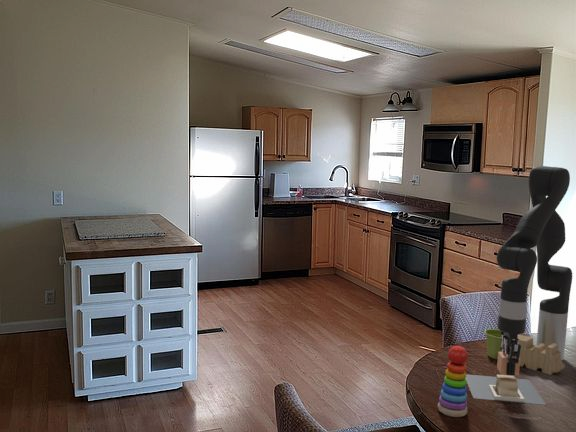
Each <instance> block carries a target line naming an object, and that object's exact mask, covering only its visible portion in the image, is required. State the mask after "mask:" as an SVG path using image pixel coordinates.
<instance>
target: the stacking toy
mask: <svg viewBox="0 0 576 432" xmlns="http://www.w3.org/2000/svg"><path fill="white" fill-rule="evenodd" d="M447 355H448V359H449V362H448V363H447V364H446V368H447V369H445V373H444V374H445V376H444V378H443V381H444V382H443V384H442V388H441V390H440V395H439V398H438V403H437V409H438V411H439V412H440V413H441V414H444V415H445V416H448V417H452V418H462V417H464V416H466V415H467V414H468V401H467V399H468V393H467V385H468V384H467V381H466V379H465V378H466V374H467V373H466V371H467V365H466V364H465V363H466V362H467V360H468V352H467V350H466V349H465V347H463V346H461V345H453V346H452V347H451V348H450V349H449V350H448V352H447Z"/></svg>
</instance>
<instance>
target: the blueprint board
mask: <svg viewBox="0 0 576 432" xmlns="http://www.w3.org/2000/svg"><path fill="white" fill-rule="evenodd" d="M465 379H466V381H467V384H466V385H467V386H468V389H469V391H470V393H471V396H472V398H473V399H476V400H477V399H478V400H486V401H487V400H489V401H499V402H508V403H509V402H510V403H519V404H520V403H521V404H531V405H543V406H547V404H546V402H545V400H544V399H543V398H542V396H541V394H539V392H538V390H537V389H536V387H535V386H534V385H533V383H532V382H531V381H530V380H529V379H526V378H516V380H517V381H518V394H517V397H511V396H500V395H497V393H496V391H495V387H496V376H490V375H478V374H477V375H476V374H467V373H466V378H465Z"/></svg>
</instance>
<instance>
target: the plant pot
mask: <svg viewBox="0 0 576 432" xmlns="http://www.w3.org/2000/svg"><path fill="white" fill-rule="evenodd" d="M484 334H485V338H486V352H487V356H488V357H489V358H491V359H494V360H498V352H502V351H501V349H500V347H501V331H500V330H499V329H498V328H496V329H495V328H490V329H489V328H488V329H485V330H484ZM504 345H505V344H504Z"/></svg>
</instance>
